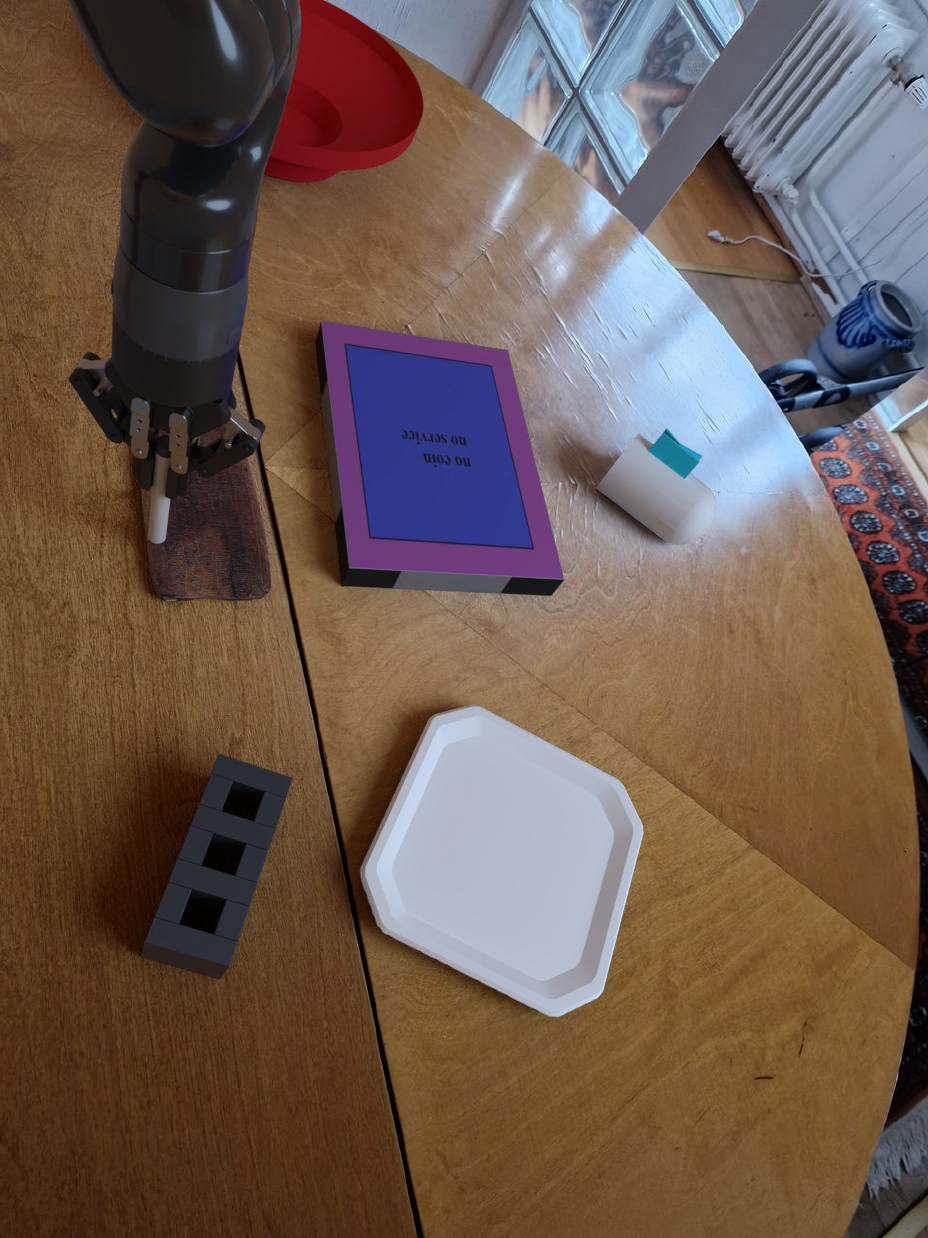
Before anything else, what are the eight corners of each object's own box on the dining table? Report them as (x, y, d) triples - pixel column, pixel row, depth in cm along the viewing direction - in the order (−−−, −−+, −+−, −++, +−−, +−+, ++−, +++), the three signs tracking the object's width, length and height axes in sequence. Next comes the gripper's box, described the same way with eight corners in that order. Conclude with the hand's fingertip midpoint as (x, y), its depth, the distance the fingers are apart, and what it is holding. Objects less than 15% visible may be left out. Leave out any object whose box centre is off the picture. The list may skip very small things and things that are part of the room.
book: (508, 349, 99) (564, 579, 85) (498, 369, 101) (551, 595, 87) (321, 320, 91) (349, 568, 77) (315, 342, 94) (341, 586, 80)
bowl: (148, 35, 110) (152, -54, 102) (384, 94, 121) (405, 18, 113) (150, 196, 96) (156, 108, 88) (417, 246, 107) (443, 172, 99)
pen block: (220, 980, 60) (229, 967, 56) (140, 957, 59) (144, 942, 55) (281, 800, 68) (293, 777, 64) (211, 777, 67) (219, 753, 63)
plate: (436, 695, 77) (444, 684, 75) (641, 804, 79) (654, 796, 77) (334, 917, 65) (341, 910, 63) (579, 1040, 67) (593, 1037, 65)
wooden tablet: (125, 351, 82) (236, 350, 85) (127, 369, 84) (236, 367, 87) (150, 599, 71) (277, 588, 74) (152, 613, 73) (275, 601, 76)
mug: (739, 498, 89) (643, 425, 89) (681, 565, 93) (590, 495, 94) (747, 472, 99) (661, 406, 99) (694, 533, 103) (612, 470, 104)
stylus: (144, 538, 73) (152, 443, 63) (153, 527, 74) (162, 431, 64) (160, 546, 73) (170, 452, 63) (169, 535, 74) (180, 440, 64)
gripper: (305, 318, 57) (263, 484, 71) (94, 228, 55) (94, 418, 69) (267, 395, 53) (231, 556, 67) (37, 300, 50) (48, 487, 64)
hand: (161, 485), depth 68 cm, fingers closed on stylus, 1 cm apart
